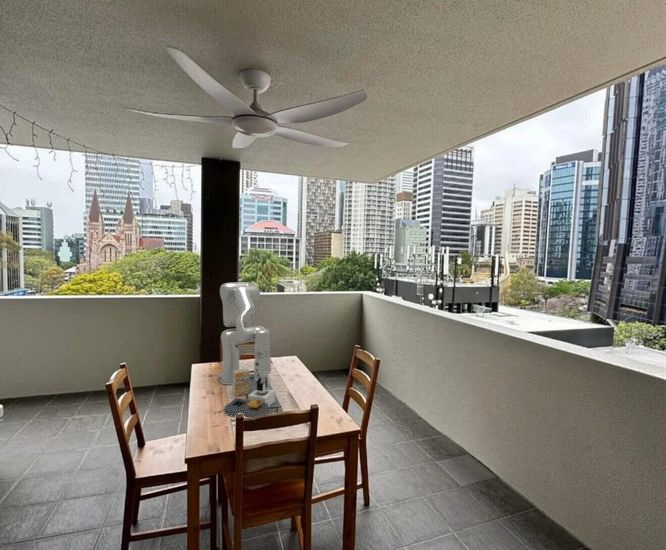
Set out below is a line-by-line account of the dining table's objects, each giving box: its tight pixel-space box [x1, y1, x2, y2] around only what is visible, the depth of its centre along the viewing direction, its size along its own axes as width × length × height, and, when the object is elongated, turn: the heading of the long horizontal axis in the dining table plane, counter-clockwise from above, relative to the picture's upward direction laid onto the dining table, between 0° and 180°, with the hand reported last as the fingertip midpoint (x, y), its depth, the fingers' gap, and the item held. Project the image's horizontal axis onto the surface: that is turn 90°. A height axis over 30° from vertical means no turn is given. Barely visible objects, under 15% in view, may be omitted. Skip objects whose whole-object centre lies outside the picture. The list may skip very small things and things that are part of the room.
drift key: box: [248, 399, 262, 409], centre depth 162 cm, size 5×5×5 cm
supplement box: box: [231, 368, 251, 397], centre depth 185 cm, size 8×5×13 cm, turn 122°
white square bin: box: [247, 388, 276, 408], centre depth 173 cm, size 10×10×6 cm
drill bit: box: [258, 376, 267, 396], centre depth 173 cm, size 4×4×12 cm
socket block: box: [223, 397, 269, 418], centre depth 164 cm, size 18×10×4 cm, turn 72°
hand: (261, 388), depth 173 cm, fingers closed on drill bit, 3 cm apart
